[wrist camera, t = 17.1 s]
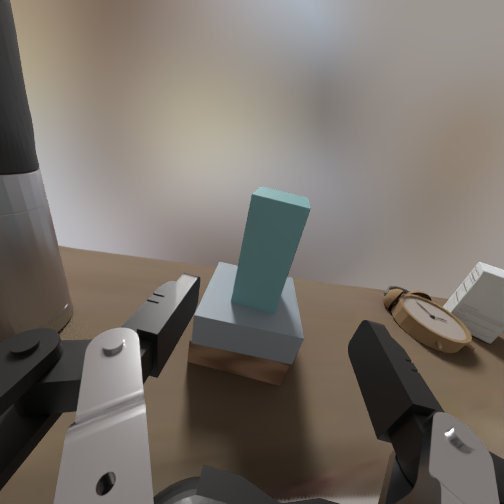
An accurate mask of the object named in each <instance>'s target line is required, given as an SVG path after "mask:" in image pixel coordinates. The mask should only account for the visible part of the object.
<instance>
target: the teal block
mask: <svg viewBox="0 0 504 504" xmlns="http://www.w3.org/2000/svg"><path fill="white" fill-rule="evenodd" d="M310 209H311V208H310V204H309V200H308V198H307V197H303V196H299V195H295V194H291V193H287V192H283V191H279V190H275V189H270V188H266V187H262V186H261V187H260V188H259V189H258V190H257V191H255V192H254V193H253V194H252V197H251V202H250V208H249V212H248V217H247V222H246V228H245V232H244V237H243V243H242V248H241V253H240V258H239V263H238V268H237V273H236V278H235V283H234V288H233V293H232V298H231V302H233V303H237V304H240V305H243V306H247V307H250V308H253V309H256V310H260V311H263V312H266V313H269V314H273V315H274V314H275V311H276V309H277V306H278V303H279V300H280V297H281V294H282V291H283V288H284V285H285V282H286V279H287V276H288V273H289V271H290V268H291V265H292V262H293V259H294V256H295V253H296V250H297V247H298V244H299V241H300V238H301V236H302V232H303V230H304V226H305V224H306V221H307V218H308V215H309V212H310Z"/></svg>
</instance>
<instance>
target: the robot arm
mask: <svg viewBox="0 0 504 504" xmlns="http://www.w3.org/2000/svg"><path fill="white" fill-rule="evenodd" d="M199 287H200V277H197V276H193V275H189V274H186V273H185V274H183V275H182V276H181V277H180V279H179V280H178V281H177V282H174V281H169V282H167V283H165V284H163V285H161V286H160V287H159V288H158V289H157V290H156V291H155V292H154V293H153V295H151V296H150V297H149V298H148V300H147V301H145V302H144V304H143V305H142V306H141V307H140V308H139V309H138V310H137V311H136V312H135V313H134V314H133V315H132V316H131V317H130V318H129V319H128V320H127V321H126V322H125V323H124V324H123V325H122V326H121V327H120V328H114V329H110V330H108V331H105V332H103V333H101V334H99V335H98V336H97V337H95V338H94V339H91V340H63V341H61V339H60V336H59V334H58V331H60V330H61V329H62V328H63V327H64V326H65V325H66V324H67V323H68V321H69V320H70V318H71V316H72V314H73V306H72V302H71V298H70V293H69V289H68V284H67V280H66V276H65V272H64V267H63V263H62V259H61V255H60V251H59V246H58V243H57V238H56V234H55V230H54V226H53V222H52V217H51V213H50V209H49V204H48V200H47V197H46V193H45V189H44V184H43V180H42V176H41V172H40V168H39V163H38V159H37V155H36V150H35V141H34V132H33V124H32V118H31V114H30V110H29V105H28V100H27V95H26V90H25V84H24V79H23V73H22V67H21V61H20V54H19V48H18V42H17V35H16V30H15V25H14V19H13V14H12V8H11V3H10V0H0V490H1V489H2V488H3V487H4V485H5V484H6V483H7V482H8V481H9V479H10V478H11V477H12V476H13V474H14V473H15V472H16V471H17V469H18V468H19V467H20V466H21V464H22V463H23V462H24V461H25V459H26V458H27V457H28V456H29V454H30V453H31V452H32V451H33V449H34V448H35V447H36V446H37V444H38V443H39V442H40V441H41V439H42V438H43V437H44V436H45V434H46V433H47V432H48V431H49V429H50V428H51V427H52V426H53V424H54V423H55V422H56V421H57V419H58V418H59V417H60V416H61V414H62V413H64V412H73V411H77V412H76V418H75V421H74V423H73V424H71V425H70V426H69V428H68V431H67V434H66V437H65V442H64V447H63V453H62V459H61V464H60V470H59V476H58V481H57V487H56V493H55V499H54V504H339V503H335V502H332V501H328V500H325V499H321V498H318V499H310V500H303V501H295V502H288V503H280V502H278V501H276V500H275V499H273V498H272V497H270V496H269V495H268V494H266V493H265V492H263V491H262V490H261V489H259V488H258V487H256V486H255V485H253V484H252V483H251V482H249V481H248V480H246V479H245V478H244V477H242V476H241V475H237V474H234V473H230V472H227V471H223V470H220V469H216V468H213V467H209V466H206V465H203V468H202V472H201V476H199V477H191V478H188V479H184V480H181V481H179V482H177V483H174V484H172V485H170V486H169V487H167V488H166V489H164V490H162V491H161V492H159V493H158V494H157V495H156V496H155V497H153V489H152V478H151V466H150V455H149V444H148V432H147V421H146V409H145V399H144V392H143V384H144V383H145V381H146V379H147V378H148V376H153V377H156V378H158V376H159V374H160V373H161V371H162V369H163V367H164V366H165V364H166V362H167V360H168V359H169V357H170V355H171V353H172V352H173V350H174V348H175V346H176V345H177V343H178V341H179V339H180V337H181V336H182V334H183V332H184V330H185V329H186V327H187V325H188V323H189V322H190V320H191V318H192V316H193V315H194V313H195V310H196V307H197V303H198V296H199ZM348 354H349V358H350V361H351V364H352V366H353V369H354V372H355V375H356V378H357V381H358V384H359V387H360V390H361V393H362V396H363V399H364V401H365V404H366V407H367V410H368V413H369V416H370V419H371V422H372V425H373V428H374V431H375V434H376V436H377V439H379V440H382V441H386V442H389V443H392V445H393V448H394V450H393V451H392V452H391V454H390V456H389V460H388V465H387V469H386V473H385V477H384V481H383V485H382V489H381V494H380V498H379V502H378V504H504V459H502V458H500V457H498V456H497V455H495V454H493V453H491V452H489V451H488V450H487V448H486V447H485V445H484V444H483V442H482V441H481V440H480V439H479V438H478V436H477V435H476V434H475V433H474V432H473V431H472V430H471V429H470V428H468V427H467V426H466V425H465V424H464V423H462V422H461V421H460V420H458V419H457V418H455V417H453V416H451V415H449V414H447V413H445V412H444V411H443V409H442V407H441V406H440V404H439V403H438V401H437V400H436V398H435V397H434V395H433V393H432V392H431V390H430V389H429V387H428V386H427V384H426V383H425V381H424V380H423V378H422V376H421V375H420V373H418V372H417V371H418V370H417V369H416V367H415V366H414V364H413V363H411V359H410V358H409V356H408V355H407V353H406V352H405V350H404V349H403V348H402V347H401V346H400V345H399V344H398V343H397V342H396V341H395V340H394V339H393V338H392V337H391V336H390V334H389V332H388V331H387V329H386V328H385V326H384V325H383V324H379V323H376V322H372V321H368V320H364V321H362V322H361V324H360V325H359V327H358V329H357V330H356V332H355V334H354V335H353V337H352V339H351V340H350V342H349V345H348Z"/></svg>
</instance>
